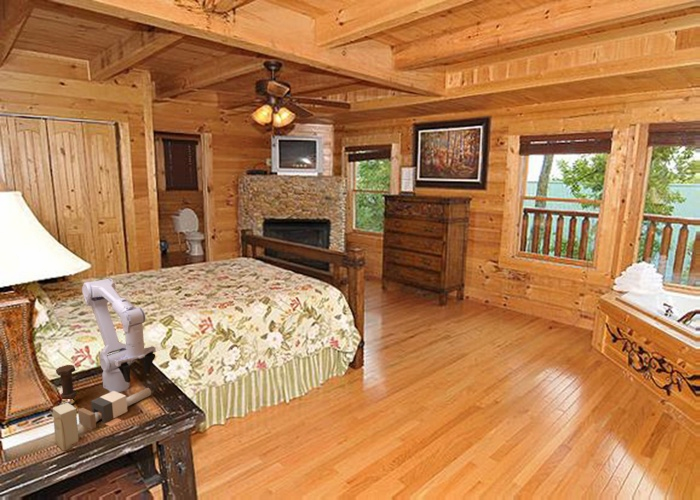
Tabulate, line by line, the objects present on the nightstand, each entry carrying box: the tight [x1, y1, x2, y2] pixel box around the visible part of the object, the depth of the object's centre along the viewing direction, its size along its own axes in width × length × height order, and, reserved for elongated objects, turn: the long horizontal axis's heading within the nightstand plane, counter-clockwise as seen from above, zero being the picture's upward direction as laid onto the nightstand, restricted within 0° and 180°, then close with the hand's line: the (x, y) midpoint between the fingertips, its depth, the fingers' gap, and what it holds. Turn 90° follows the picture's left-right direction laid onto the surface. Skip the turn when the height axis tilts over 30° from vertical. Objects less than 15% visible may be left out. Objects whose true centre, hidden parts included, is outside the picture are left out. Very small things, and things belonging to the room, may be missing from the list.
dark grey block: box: [90, 396, 113, 424], centre depth 139 cm, size 7×3×6 cm, turn 62°
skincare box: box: [52, 402, 80, 452], centre depth 126 cm, size 6×4×12 cm
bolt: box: [55, 364, 78, 401], centre depth 147 cm, size 6×5×15 cm
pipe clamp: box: [77, 387, 152, 431], centre depth 144 cm, size 16×26×6 cm, turn 152°
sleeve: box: [100, 391, 128, 420], centre depth 142 cm, size 7×5×6 cm
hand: (137, 377), depth 150 cm, fingers open, 7 cm apart
